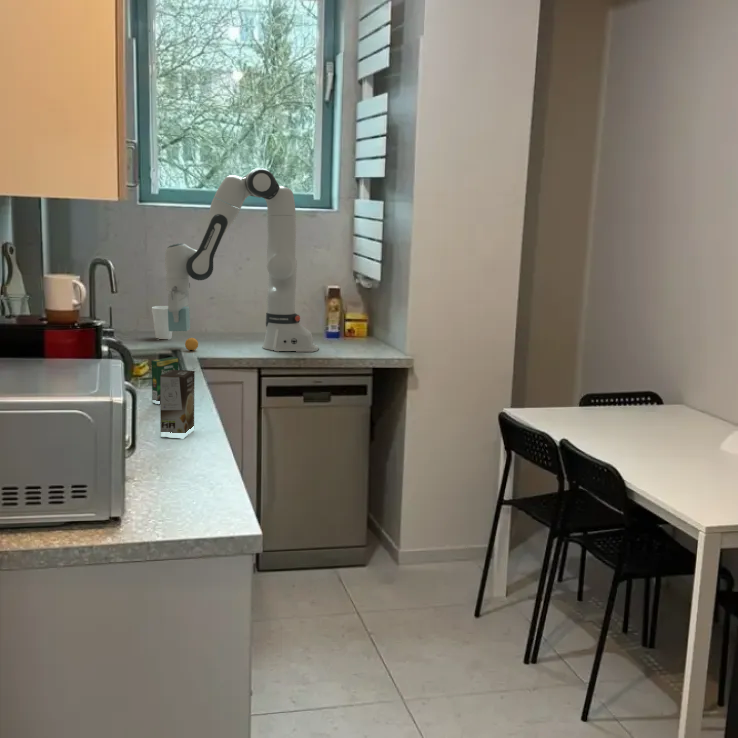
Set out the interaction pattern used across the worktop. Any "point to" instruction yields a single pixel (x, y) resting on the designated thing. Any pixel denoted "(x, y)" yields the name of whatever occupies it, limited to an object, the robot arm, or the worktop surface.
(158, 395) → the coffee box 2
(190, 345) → the ball
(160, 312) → the foam cup
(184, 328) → the grey-teal block
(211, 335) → the worktop surface
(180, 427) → the coffee box
